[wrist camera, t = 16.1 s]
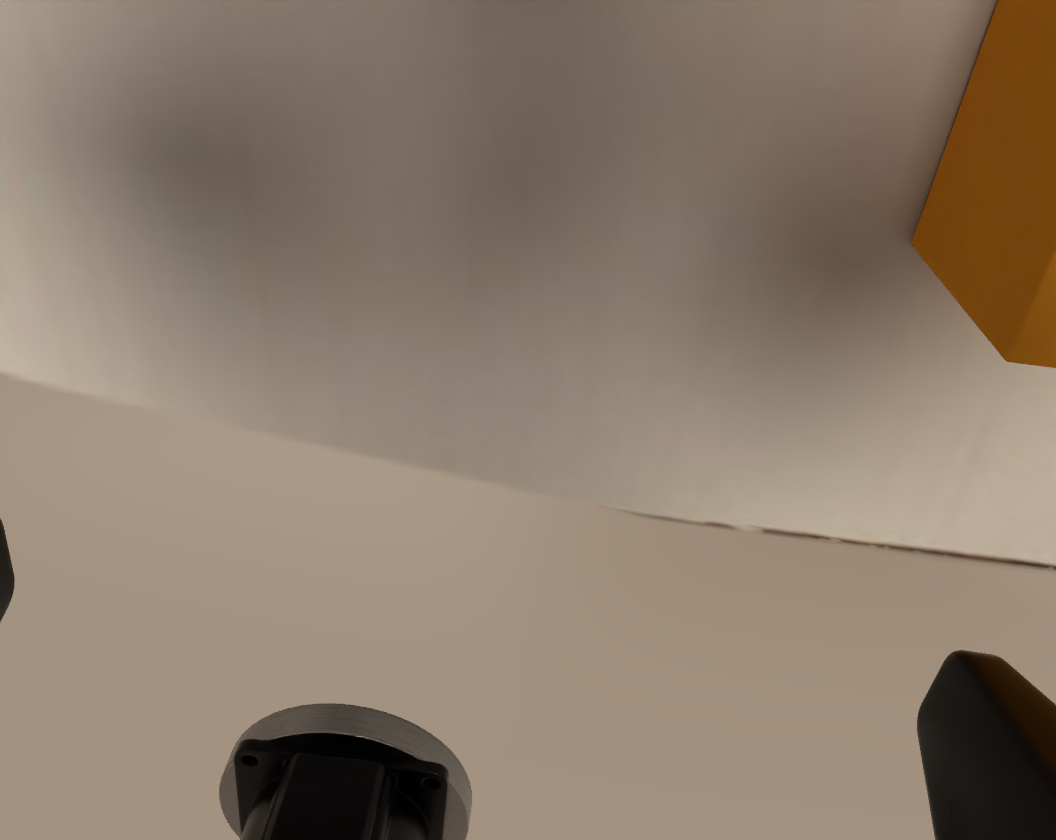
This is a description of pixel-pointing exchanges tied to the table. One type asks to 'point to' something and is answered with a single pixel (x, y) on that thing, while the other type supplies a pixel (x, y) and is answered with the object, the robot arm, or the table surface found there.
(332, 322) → the table surface
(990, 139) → the sponge
